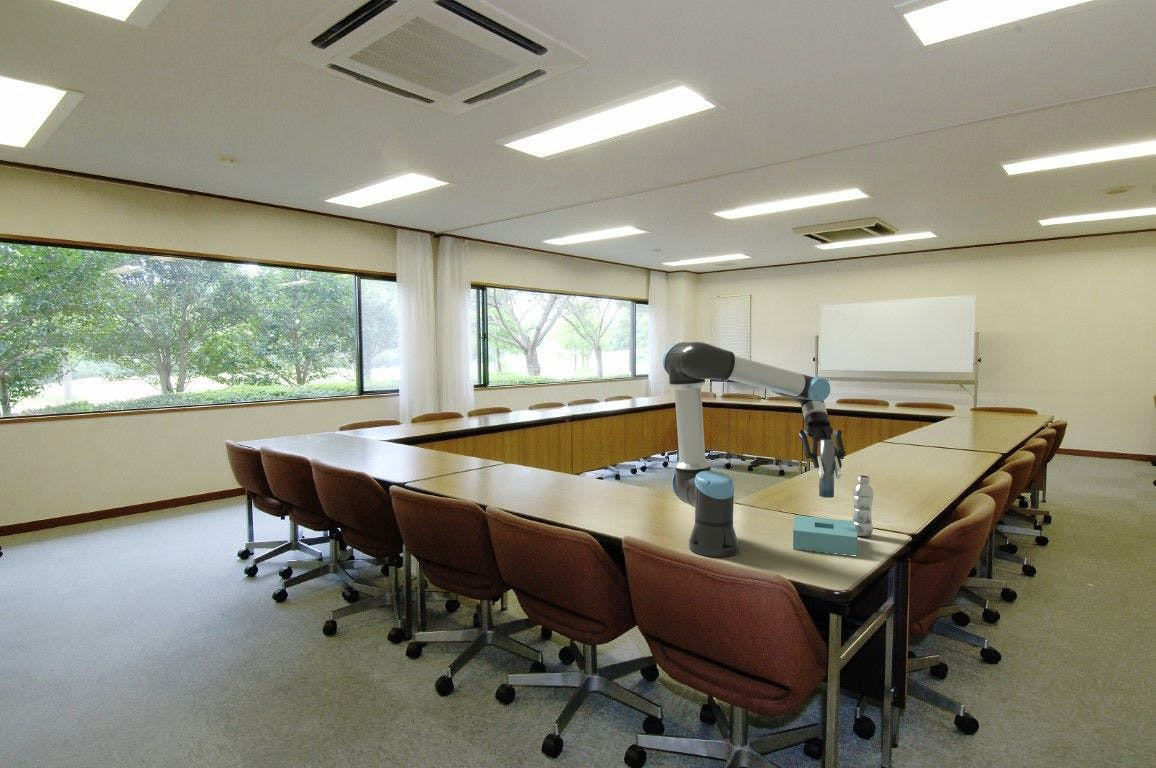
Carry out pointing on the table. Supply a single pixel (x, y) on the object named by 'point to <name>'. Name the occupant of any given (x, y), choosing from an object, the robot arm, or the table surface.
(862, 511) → the plastic bottle
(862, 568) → the table surface
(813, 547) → the socket block
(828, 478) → the pin
